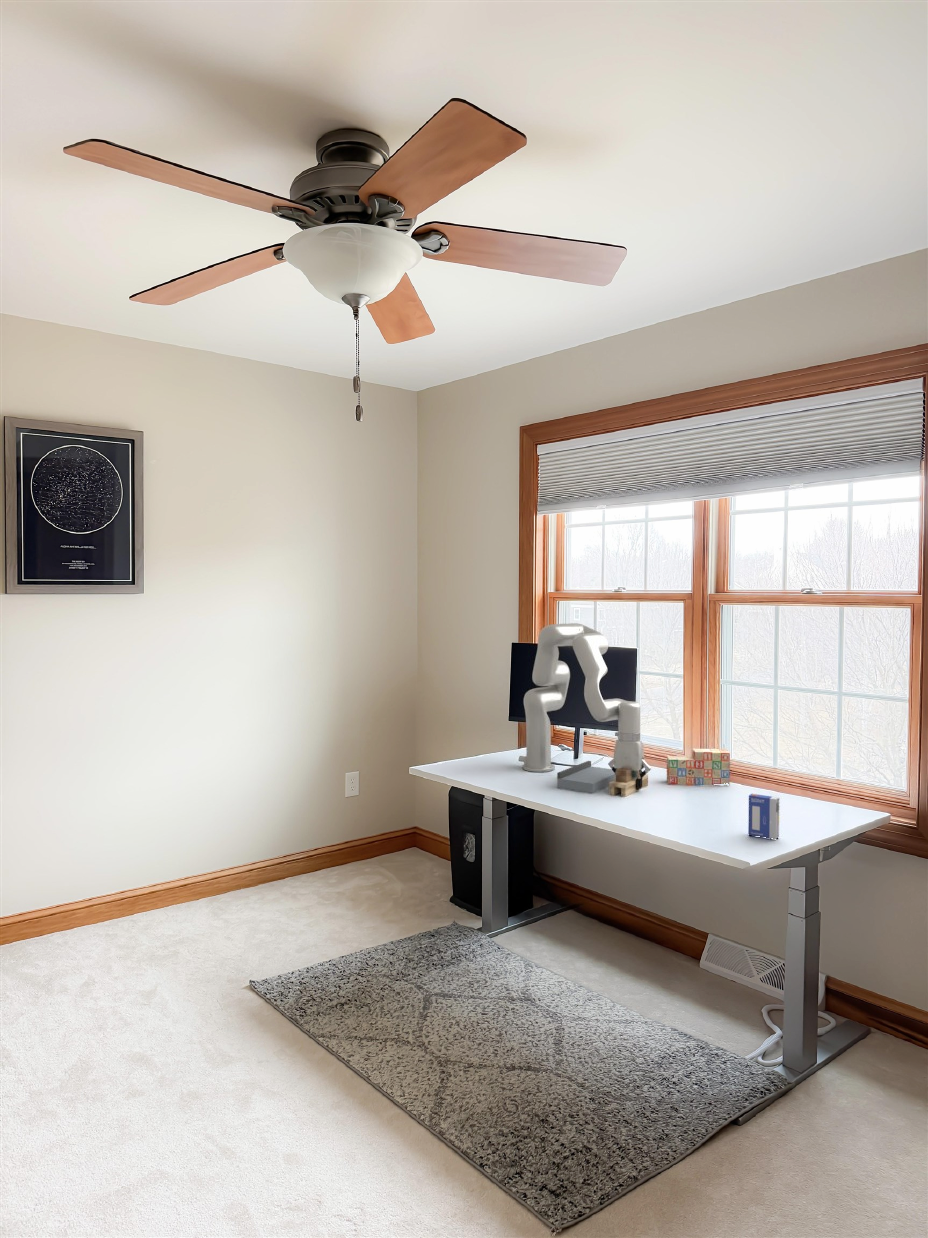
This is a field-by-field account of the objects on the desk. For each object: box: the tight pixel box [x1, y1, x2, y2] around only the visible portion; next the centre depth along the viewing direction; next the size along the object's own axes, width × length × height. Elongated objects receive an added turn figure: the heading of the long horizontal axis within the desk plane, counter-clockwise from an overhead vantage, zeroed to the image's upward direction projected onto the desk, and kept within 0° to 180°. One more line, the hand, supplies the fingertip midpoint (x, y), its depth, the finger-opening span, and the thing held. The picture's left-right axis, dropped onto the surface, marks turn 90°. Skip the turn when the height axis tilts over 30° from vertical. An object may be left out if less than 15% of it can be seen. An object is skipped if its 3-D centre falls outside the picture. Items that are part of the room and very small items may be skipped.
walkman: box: [747, 793, 780, 839], centre depth 236 cm, size 8×3×12 cm, turn 55°
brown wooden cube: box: [616, 768, 631, 783], centre depth 287 cm, size 4×4×4 cm
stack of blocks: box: [666, 748, 731, 786], centre depth 300 cm, size 21×6×12 cm, turn 82°
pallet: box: [608, 773, 649, 798], centre depth 291 cm, size 6×19×4 cm, turn 145°
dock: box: [556, 760, 616, 795], centre depth 300 cm, size 14×24×6 cm, turn 145°
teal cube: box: [631, 769, 643, 778], centre depth 295 cm, size 4×4×4 cm
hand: (629, 787), depth 291 cm, fingers open, 6 cm apart
